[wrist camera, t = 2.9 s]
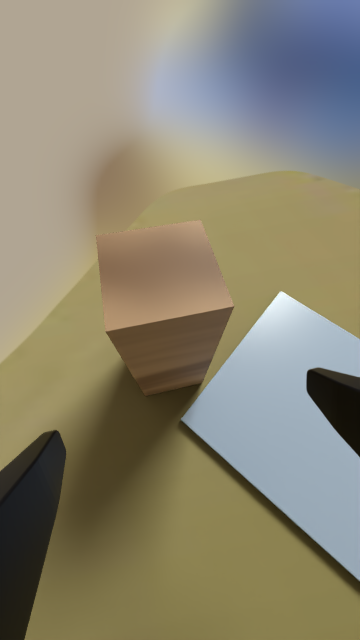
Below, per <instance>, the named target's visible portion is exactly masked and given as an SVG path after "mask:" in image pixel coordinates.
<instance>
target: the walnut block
mask: <svg viewBox="0 0 360 640" xmlns="http://www.w3.org/2000/svg"><path fill="white" fill-rule="evenodd" d="M96 239H97V249H98V260H99V270H100V280H101V290H102V300H103V310H104V320H105V330H106V333H107V335H108V336H109V338H110V340H111V341H112V343H113V344H114V346H115V348H116V349H117V351H118V353H119V354H120V356H121V358H122V359H123V361H124V362H125V364H126V366H127V367H128V369H129V371H130V372H131V374H132V376H133V377H134V379H135V380H136V382H137V384H138V385H139V387H140V389H141V390H142V392H143V394H144V395H145V396H148V395H152V394H157V393H161V392H165V391H170V390H174V389H178V388H183V387H187V386H191V385H196V384H200V383H202V382H203V380H204V377H205V375H206V373H207V370H208V368H209V365H210V363H211V361H212V358H213V356H214V353H215V351H216V349H217V346H218V344H219V341H220V339H221V337H222V334H223V332H224V329H225V327H226V325H227V322H228V320H229V317H230V315H231V313H232V310H233V308H234V305H233V302H232V299H231V297H230V294H229V292H228V289H227V287H226V284H225V281H224V279H223V276H222V274H221V271H220V268H219V266H218V263H217V261H216V258H215V256H214V253H213V250H212V248H211V245H210V243H209V240H208V237H207V235H206V232H205V230H204V227H203V225H202V222H201V220H196V221H189V222H183V223H176V224H169V225H162V226H156V227H149V228H142V229H136V230H129V231H122V232H116V233H109V234H102V235H96Z"/></svg>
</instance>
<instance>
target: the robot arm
mask: <svg viewBox="0 0 360 640" xmlns="http://www.w3.org/2000/svg"><path fill="white" fill-rule="evenodd" d="M306 390H307V393H308V395H309V396H310V398H311V399H312V400H313V402H314V403H315V404H316V406H317V407H318V408H319V410H320V411H321V412H322V413H323V415H324V416H325V417H326V419H327V420H328V421H329V423H330V424H331V425H332V427H333V428H334V429H335V430H336V432H337V433H338V434H339V435H340V436H341V437H342V438H343V439H344V441H345V442H346V443H347V444H348V445H349V446H350V447H351V448H352V449H353V451H354V452H355V453H356V454H357V455H358V456H359V457H360V377H356V376H352V375H348V374H344V373H340V372H336V371H332V370H328V369H324V368H320V367H317V368H312V369H309V370H308V371H307V375H306ZM65 460H66V449H65V446H64V443H63V441H62V438H61V436H60V433H59V432H58V431H57V430H52V431H48V432H45V433H43V434H42V435H40V436H39V437H38V438H37V439H36V440H35V441H34V442H33V443H32V444H30V445H29V446H28V447H27V448H26V449H25V450H24V451H23V452H21V453H20V454H19V455H18V456H17V457H16V458H15V459H14V460H13V461H11V462H10V463H9V464H8V465H7V466H6V467H5V468H4V469H2V470H1V471H0V640H24V639H25V635H26V631H27V627H28V623H29V619H30V615H31V611H32V608H33V604H34V600H35V596H36V592H37V588H38V584H39V580H40V576H41V572H42V568H43V565H44V561H45V557H46V553H47V549H48V545H49V541H50V537H51V533H52V529H53V525H54V521H55V518H56V513H57V509H58V504H59V499H60V493H61V486H62V479H63V473H64V466H65Z"/></svg>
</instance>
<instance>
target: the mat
mask: <svg viewBox="0 0 360 640" xmlns="http://www.w3.org/2000/svg"><path fill="white" fill-rule="evenodd" d="M317 367H320V368H324V369H328V370H332V371H336V372H340V373H344V374H348V375H352V376H356V377H360V339H358V338H357V337H355V336H353V335H352V334H350V333H349V332H347V331H345V330H344V329H342V328H340V327H339V326H337V325H335V324H334V323H332V322H331V321H329V320H327V319H326V318H324V317H322V316H321V315H319V314H317V313H316V312H314V311H313V310H311V309H309V308H308V307H306V306H304V305H303V304H301V303H299V302H298V301H296V300H294V299H293V298H291V297H290V296H288V295H286V294H285V293H283V292H281V291H280V293H279V294H278V295H277V297H276V298H275V299H274V300H273V302H272V303H271V304H270V305H269V307H268V308H267V309H266V311H265V312H264V313H263V314H262V316H261V317H260V318H259V320H258V321H257V322H256V323H255V325H254V326H253V327H252V329H251V330H250V331H249V332H248V334H247V335H246V336H245V338H244V339H243V340H242V341H241V343H240V344H239V345H238V347H237V348H236V349H235V350H234V352H233V353H232V354H231V356H230V357H229V358H228V359H227V361H226V362H225V363H224V365H223V366H222V367H221V368H220V370H219V371H218V372H217V374H216V375H215V376H214V377H213V379H212V380H211V381H210V383H209V384H208V385H207V386H206V388H205V389H204V390H203V392H202V393H201V394H200V395H199V397H198V398H197V399H196V401H195V402H194V403H193V404H192V406H191V407H190V408H189V410H188V411H187V412H186V413H185V415H184V416H183V417H182V419H181V421H182V422H183V423H185V424H186V425H187V426H188V427H189V428H190V429H191V430H192V431H193V432H195V433H196V434H197V435H198V436H199V437H200V438H201V439H202V440H203V441H205V442H206V443H207V444H208V445H209V446H210V447H211V448H212V449H213V450H214V451H216V452H217V453H218V454H219V455H220V456H221V457H222V458H223V459H224V460H226V461H227V462H228V463H229V464H230V465H231V466H232V467H233V468H234V469H235V470H237V471H238V472H239V473H240V474H241V475H242V476H243V477H244V478H245V479H247V480H248V481H249V482H250V483H251V484H252V485H253V486H254V487H255V488H256V489H258V490H259V491H260V492H261V493H262V494H263V495H264V496H265V497H266V498H268V499H269V500H270V501H271V502H272V503H273V504H274V505H275V506H276V507H277V508H279V509H280V510H281V511H282V512H283V513H284V514H285V515H286V516H287V517H289V518H290V519H291V520H292V521H293V522H294V523H295V524H296V525H297V526H299V527H300V528H301V529H302V530H303V531H304V532H305V533H306V534H307V535H308V536H310V537H311V538H312V539H313V540H314V541H315V542H316V543H317V544H318V545H320V546H321V547H322V548H323V549H324V550H325V551H326V552H327V553H328V554H329V555H331V556H332V557H333V558H334V559H335V560H336V561H337V562H338V563H339V564H341V565H342V566H343V567H344V568H345V569H346V570H347V571H348V572H349V573H350V574H352V575H353V576H354V577H355V578H356V579H357V580H358V581H359V582H360V457H359V456H358V455H357V454H356V453H355V452H354V451H353V449H352V448H351V447H350V446H349V445H348V444H347V443H346V442H345V441H344V439H343V438H342V437H341V436H340V435H339V434H338V433H337V432H336V430H335V429H334V428H333V427H332V425H331V424H330V423H329V421H328V420H327V419H326V417H325V416H324V415H323V413H322V412H321V411H320V410H319V408H318V407H317V406H316V404H315V403H314V402H313V400H312V399H311V398H310V396H309V395H308V393H307V390H306V375H307V371H308V370H309V369H312V368H317Z"/></svg>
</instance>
